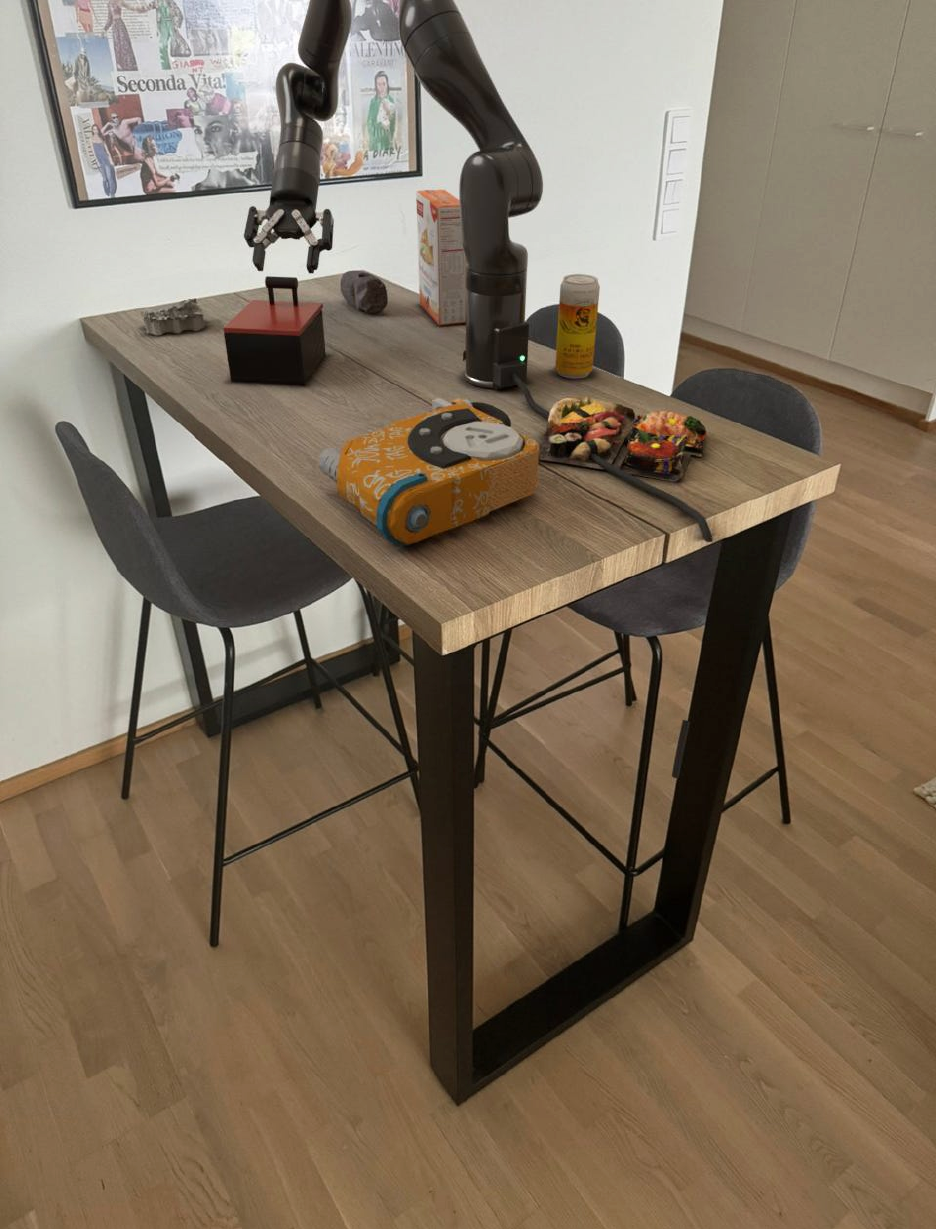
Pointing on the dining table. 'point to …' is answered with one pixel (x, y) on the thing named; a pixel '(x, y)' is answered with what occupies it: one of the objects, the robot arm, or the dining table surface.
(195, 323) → the egg carton
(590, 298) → the beer can
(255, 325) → the lid
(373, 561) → the dining table surface
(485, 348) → the robot arm
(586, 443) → the food
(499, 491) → the device
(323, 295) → the dining table surface
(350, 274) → the perforated stone tool
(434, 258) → the cracker box
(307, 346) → the black open box
